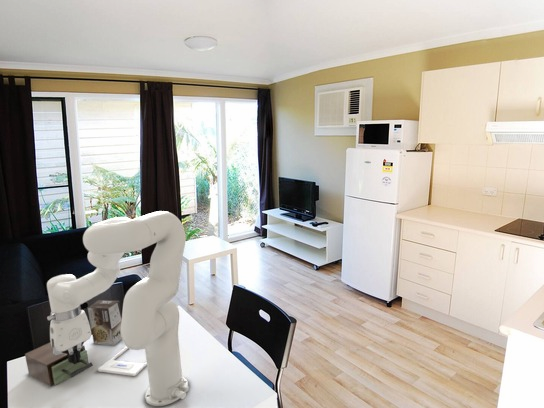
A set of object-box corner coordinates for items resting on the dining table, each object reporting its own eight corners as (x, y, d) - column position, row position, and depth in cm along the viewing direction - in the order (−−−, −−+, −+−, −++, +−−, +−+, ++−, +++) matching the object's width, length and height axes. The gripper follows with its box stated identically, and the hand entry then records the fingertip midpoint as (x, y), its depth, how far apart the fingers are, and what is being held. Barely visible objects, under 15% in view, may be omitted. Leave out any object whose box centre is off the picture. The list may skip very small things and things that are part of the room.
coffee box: (125, 336, 144) (120, 300, 141) (114, 345, 138) (108, 308, 135) (104, 335, 145) (99, 299, 142) (92, 344, 139) (86, 307, 135)
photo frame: (97, 368, 123) (134, 339, 140) (97, 371, 123) (134, 341, 140) (134, 373, 120) (167, 342, 138) (134, 376, 121) (167, 345, 138)
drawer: (100, 371, 122) (97, 355, 121) (67, 390, 113) (64, 373, 111) (69, 356, 130) (66, 341, 128) (35, 374, 120) (32, 357, 119)
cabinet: (87, 365, 126) (84, 345, 124) (50, 386, 116) (46, 365, 114) (66, 355, 132) (62, 336, 130) (28, 374, 121) (24, 354, 120)
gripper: (46, 326, 106) (56, 379, 109) (97, 304, 119) (104, 352, 123) (33, 320, 109) (42, 372, 112) (84, 300, 122) (91, 347, 126)
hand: (75, 361), depth 118 cm, fingers closed
